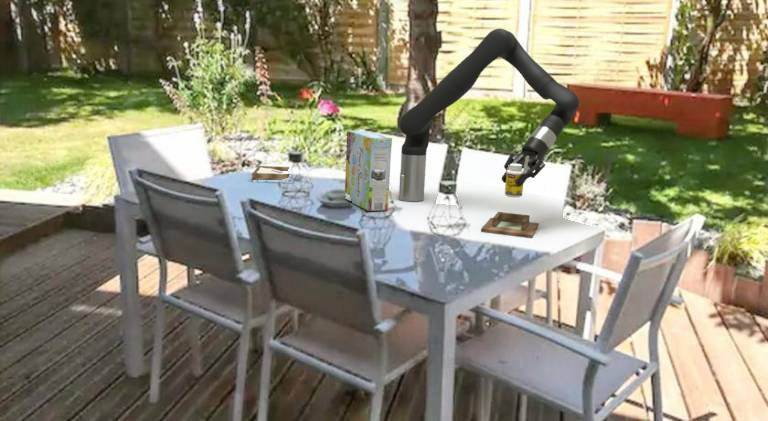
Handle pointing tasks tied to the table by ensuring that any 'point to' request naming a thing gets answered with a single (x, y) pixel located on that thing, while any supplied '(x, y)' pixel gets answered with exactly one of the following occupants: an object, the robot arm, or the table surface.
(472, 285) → the table surface
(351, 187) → the snack box
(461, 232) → the table surface
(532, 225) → the brown wooden square frame
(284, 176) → the tray
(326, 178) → the table surface
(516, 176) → the supplement bottle
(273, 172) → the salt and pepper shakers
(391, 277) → the table surface
